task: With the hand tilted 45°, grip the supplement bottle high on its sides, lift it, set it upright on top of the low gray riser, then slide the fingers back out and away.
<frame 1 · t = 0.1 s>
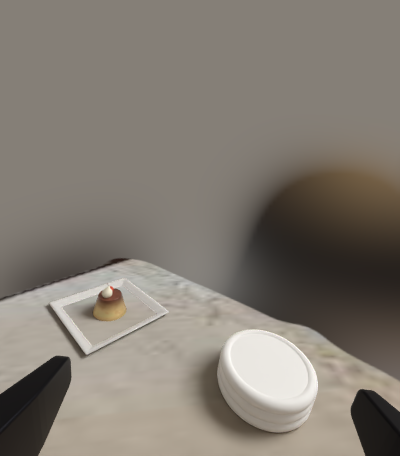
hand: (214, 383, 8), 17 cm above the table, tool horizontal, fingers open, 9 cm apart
dessert: (109, 314, 35), on the table
coaster: (261, 386, 27), on the table
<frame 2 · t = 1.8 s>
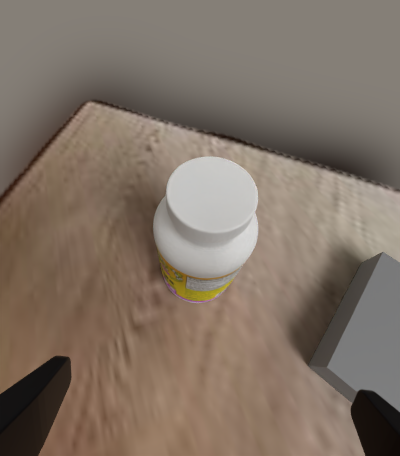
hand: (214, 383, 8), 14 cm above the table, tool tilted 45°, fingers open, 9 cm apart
gray riser: (399, 355, 21), on the table
supplement bottle: (196, 270, 24), on the table
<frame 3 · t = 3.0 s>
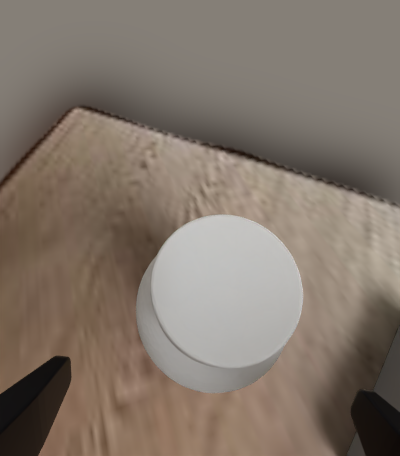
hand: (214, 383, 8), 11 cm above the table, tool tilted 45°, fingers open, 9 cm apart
supplement bottle: (198, 324, 19), on the table
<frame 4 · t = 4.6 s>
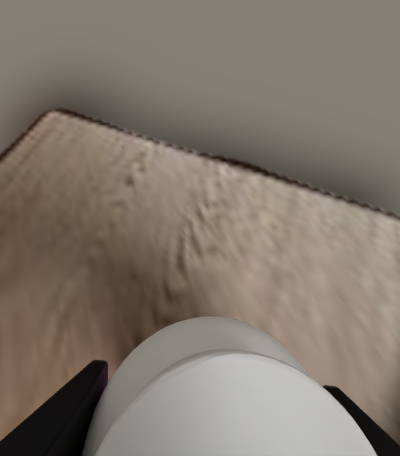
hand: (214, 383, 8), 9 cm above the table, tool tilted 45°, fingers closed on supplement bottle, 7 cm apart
supplement bottle: (194, 393, 15), on the table, touching gripper
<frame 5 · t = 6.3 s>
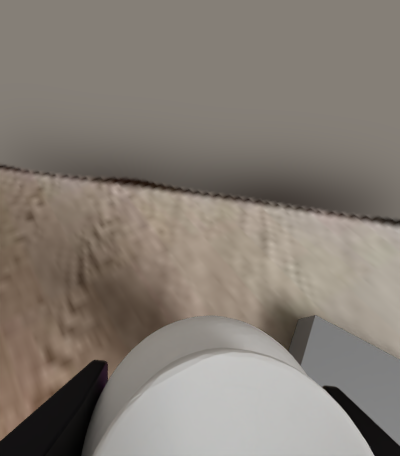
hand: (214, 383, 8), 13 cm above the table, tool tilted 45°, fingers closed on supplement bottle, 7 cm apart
gray riser: (351, 436, 18), on the table
supplement bottle: (193, 392, 15), point 4 cm above the table, touching gripper
when the fingers open (12 cm above the table, at t = 8.1 s): supplement bottle stays where it is, resting on gray riser.
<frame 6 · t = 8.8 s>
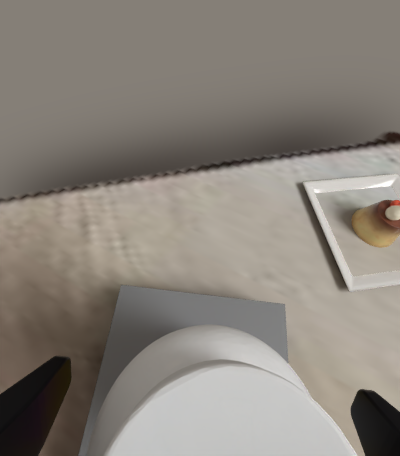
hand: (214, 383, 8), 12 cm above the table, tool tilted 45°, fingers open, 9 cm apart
dessert: (368, 230, 26), on the table
gray riser: (192, 386, 18), on the table
supplement bottle: (193, 396, 15), point 3 cm above the table, touching gray riser
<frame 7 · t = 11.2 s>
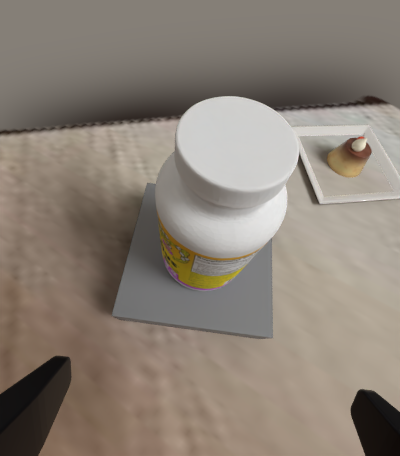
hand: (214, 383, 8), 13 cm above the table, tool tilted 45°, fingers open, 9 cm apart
dessert: (340, 166, 32), on the table
gray riser: (199, 262, 23), on the table
supplement bottle: (201, 254, 21), point 3 cm above the table, touching gray riser
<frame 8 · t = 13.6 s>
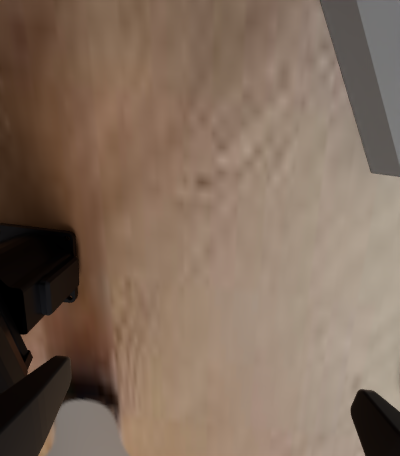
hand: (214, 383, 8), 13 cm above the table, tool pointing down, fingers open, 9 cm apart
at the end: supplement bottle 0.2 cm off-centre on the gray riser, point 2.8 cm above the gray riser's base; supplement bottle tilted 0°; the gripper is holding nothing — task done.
